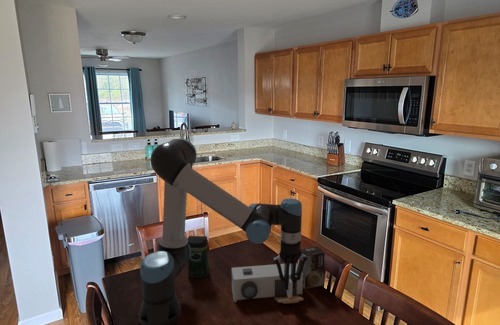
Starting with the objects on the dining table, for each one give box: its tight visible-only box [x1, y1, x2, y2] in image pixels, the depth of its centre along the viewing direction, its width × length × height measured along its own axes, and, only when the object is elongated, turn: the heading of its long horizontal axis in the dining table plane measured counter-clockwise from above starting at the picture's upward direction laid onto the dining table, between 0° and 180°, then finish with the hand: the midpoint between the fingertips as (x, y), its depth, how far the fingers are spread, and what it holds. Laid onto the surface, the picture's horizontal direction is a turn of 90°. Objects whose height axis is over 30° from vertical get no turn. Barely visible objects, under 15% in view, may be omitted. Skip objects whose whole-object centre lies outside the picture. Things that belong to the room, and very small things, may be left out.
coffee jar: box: [187, 235, 210, 279], centre depth 150 cm, size 10×8×19 cm
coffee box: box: [298, 245, 325, 290], centre depth 142 cm, size 9×6×16 cm
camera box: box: [231, 262, 303, 303], centre depth 136 cm, size 28×11×11 cm, turn 99°
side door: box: [274, 294, 304, 304], centre depth 130 cm, size 10×1×8 cm
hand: (289, 295), depth 129 cm, fingers closed
